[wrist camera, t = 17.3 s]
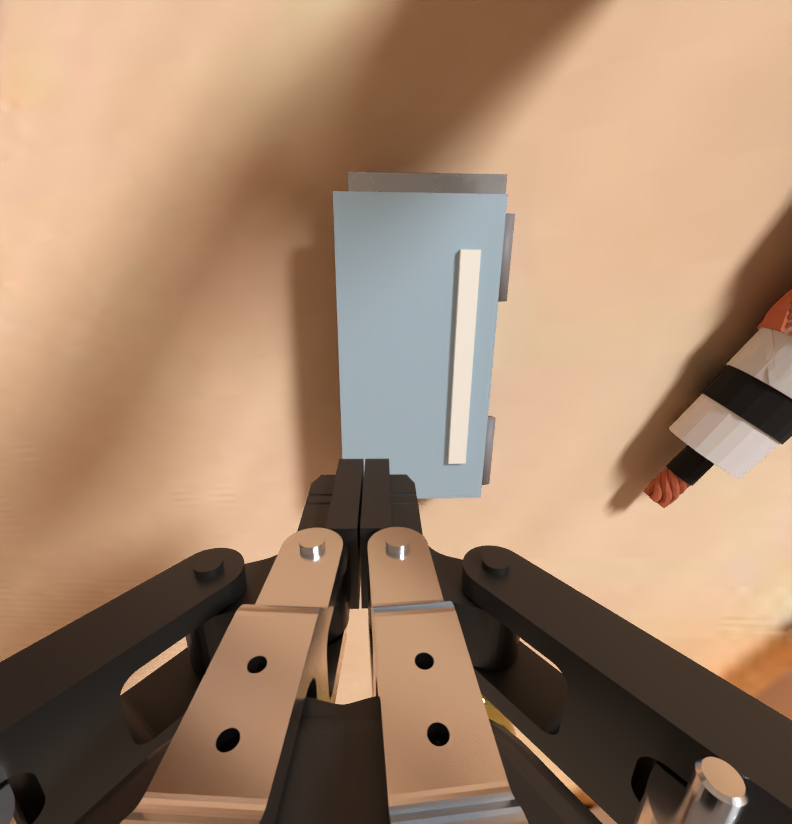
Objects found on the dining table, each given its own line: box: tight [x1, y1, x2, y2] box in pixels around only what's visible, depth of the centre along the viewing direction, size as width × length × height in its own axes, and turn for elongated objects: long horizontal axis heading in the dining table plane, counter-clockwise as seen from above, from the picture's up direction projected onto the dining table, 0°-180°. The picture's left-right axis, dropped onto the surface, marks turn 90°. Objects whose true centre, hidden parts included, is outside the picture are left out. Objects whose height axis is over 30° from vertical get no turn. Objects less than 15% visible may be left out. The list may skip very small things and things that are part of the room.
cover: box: [333, 191, 515, 499], centre depth 28 cm, size 20×11×2 cm, turn 179°
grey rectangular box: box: [348, 172, 507, 194], centre depth 31 cm, size 21×9×4 cm, turn 179°
